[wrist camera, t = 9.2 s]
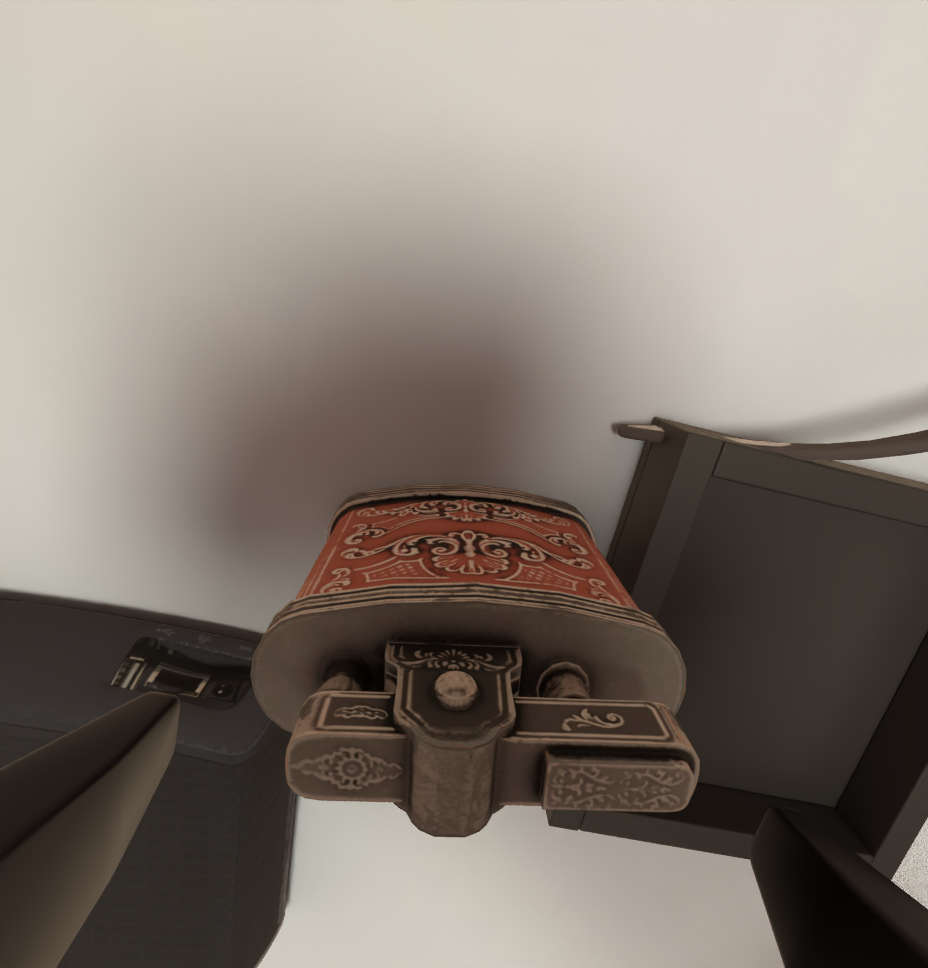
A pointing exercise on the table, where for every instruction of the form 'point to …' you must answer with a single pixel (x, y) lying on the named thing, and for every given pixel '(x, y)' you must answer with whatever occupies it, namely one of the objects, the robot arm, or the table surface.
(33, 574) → the table surface
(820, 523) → the holder
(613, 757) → the lighter
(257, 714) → the hard drive
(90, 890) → the robot arm
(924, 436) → the sunglasses
